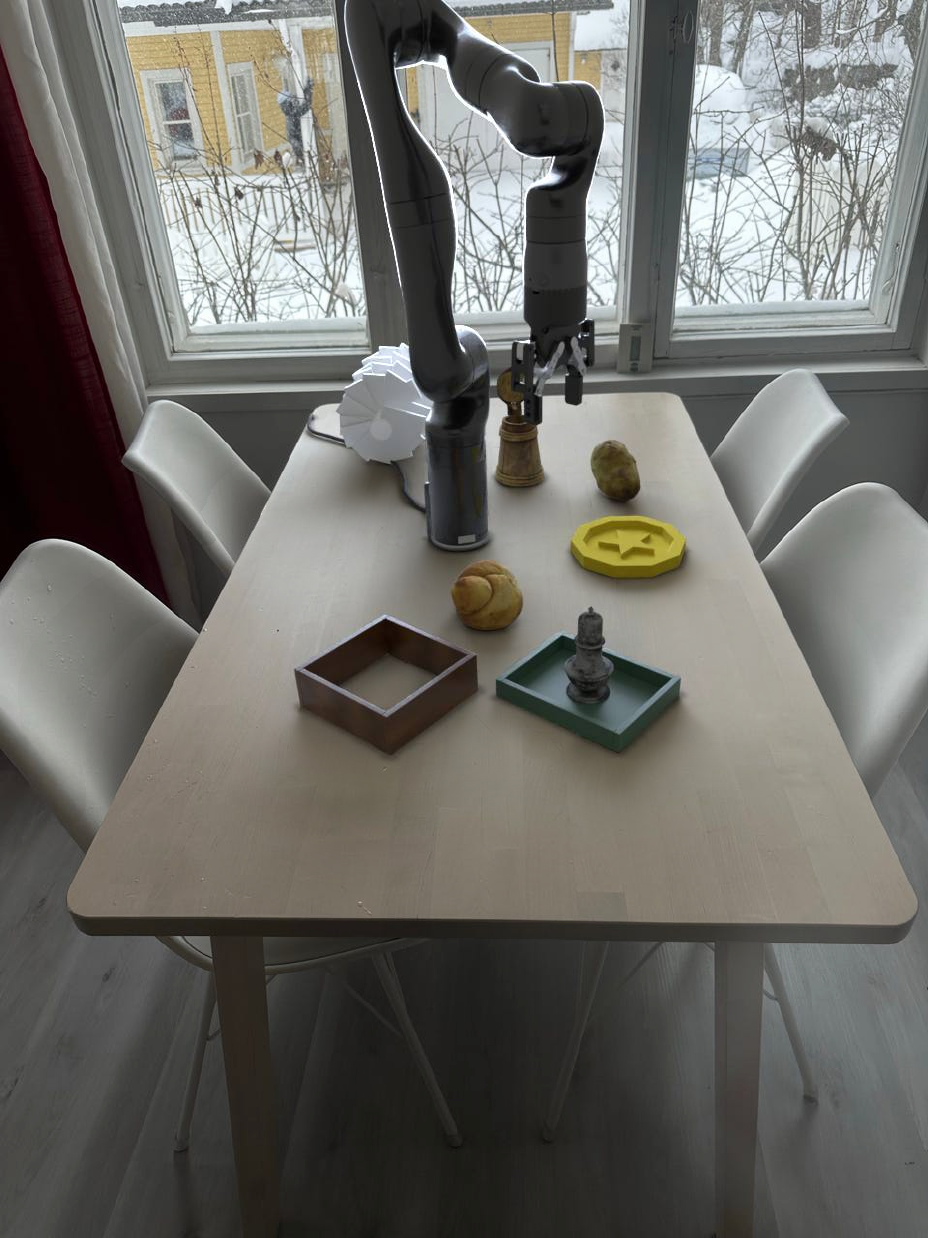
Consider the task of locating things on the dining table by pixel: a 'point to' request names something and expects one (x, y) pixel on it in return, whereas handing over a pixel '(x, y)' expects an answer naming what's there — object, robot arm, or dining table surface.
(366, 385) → the spiral staircase
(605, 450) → the potato
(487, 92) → the robot arm
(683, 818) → the dining table surface
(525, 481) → the wooden mug
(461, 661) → the open box
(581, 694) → the salt shaker
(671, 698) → the tray
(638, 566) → the decorative disc
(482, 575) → the bread roll
